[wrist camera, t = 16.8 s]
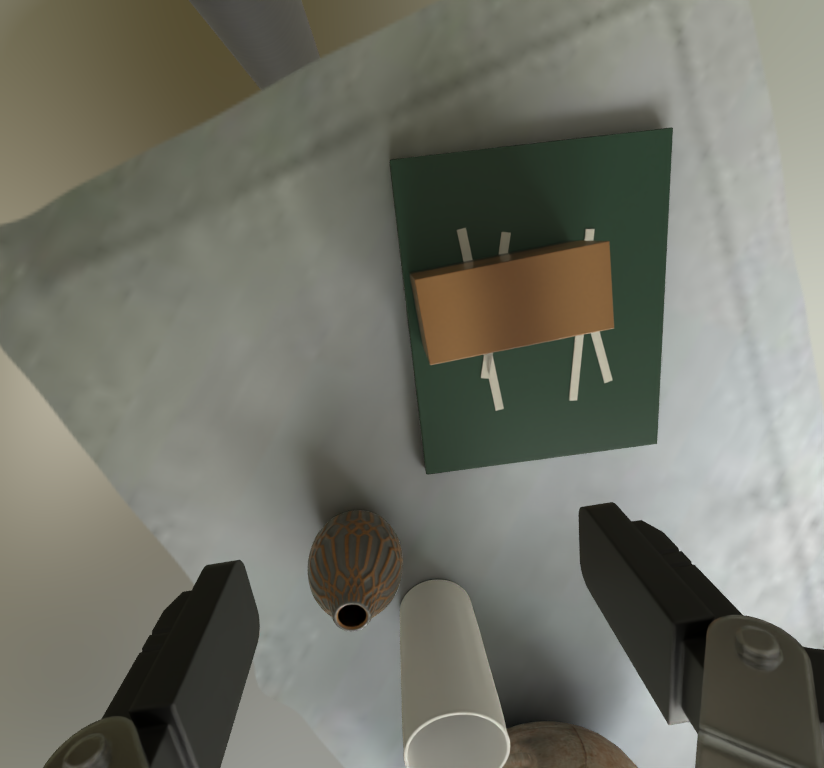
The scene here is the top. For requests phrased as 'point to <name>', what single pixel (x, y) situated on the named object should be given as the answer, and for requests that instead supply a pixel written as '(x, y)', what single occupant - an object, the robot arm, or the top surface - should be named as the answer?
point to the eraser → (513, 299)
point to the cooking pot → (562, 747)
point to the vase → (355, 568)
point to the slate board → (555, 360)
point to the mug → (447, 683)
